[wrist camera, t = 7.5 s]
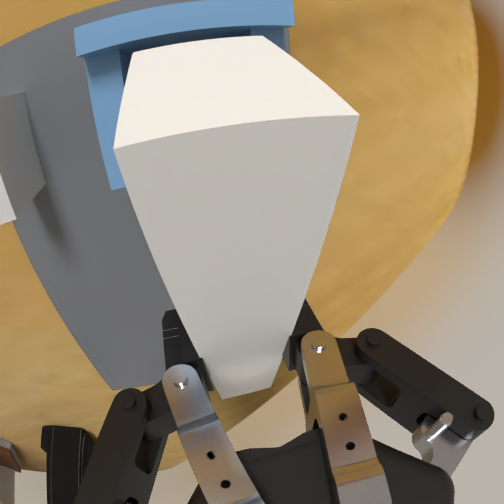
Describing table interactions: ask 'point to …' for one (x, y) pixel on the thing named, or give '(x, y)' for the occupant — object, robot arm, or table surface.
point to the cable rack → (98, 166)
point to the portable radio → (65, 461)
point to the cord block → (233, 191)
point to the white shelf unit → (8, 472)
